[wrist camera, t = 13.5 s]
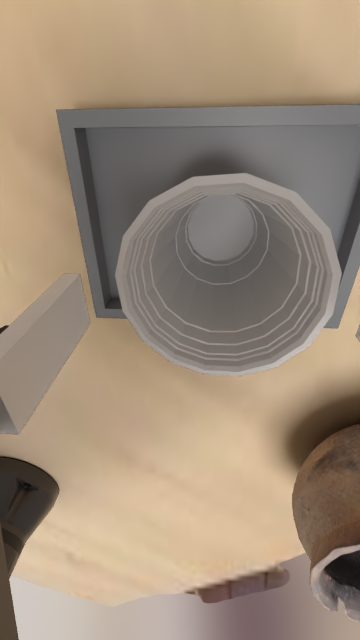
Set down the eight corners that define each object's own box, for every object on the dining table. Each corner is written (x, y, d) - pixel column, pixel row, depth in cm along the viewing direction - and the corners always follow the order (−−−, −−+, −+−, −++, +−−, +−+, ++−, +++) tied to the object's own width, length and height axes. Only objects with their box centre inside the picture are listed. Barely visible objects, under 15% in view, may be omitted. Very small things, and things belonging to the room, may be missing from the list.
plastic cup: (157, 143, 21) (107, 155, 11) (305, 164, 21) (390, 193, 11) (149, 279, 27) (111, 365, 17) (265, 295, 27) (295, 393, 17)
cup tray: (106, 301, 30) (96, 317, 28) (74, 112, 22) (56, 109, 19) (326, 311, 28) (337, 328, 26) (389, 106, 20) (415, 103, 17)
